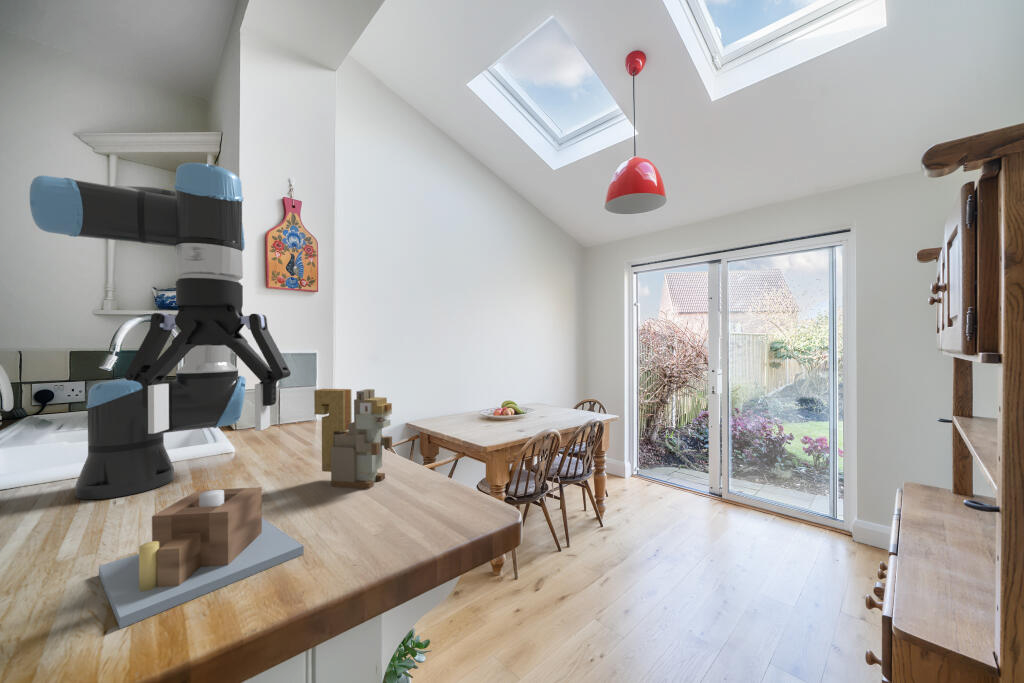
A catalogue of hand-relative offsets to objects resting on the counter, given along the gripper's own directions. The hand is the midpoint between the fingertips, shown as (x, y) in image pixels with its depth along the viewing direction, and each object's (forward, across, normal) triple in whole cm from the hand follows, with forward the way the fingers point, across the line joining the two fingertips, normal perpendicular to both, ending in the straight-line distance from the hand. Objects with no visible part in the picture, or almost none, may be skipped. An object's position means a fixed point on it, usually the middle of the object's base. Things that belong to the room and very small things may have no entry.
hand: (211, 430), depth 57 cm
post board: (+18, 0, -2) cm, 18 cm away
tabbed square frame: (+17, 0, -2) cm, 17 cm away
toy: (+18, +12, +30) cm, 37 cm away
